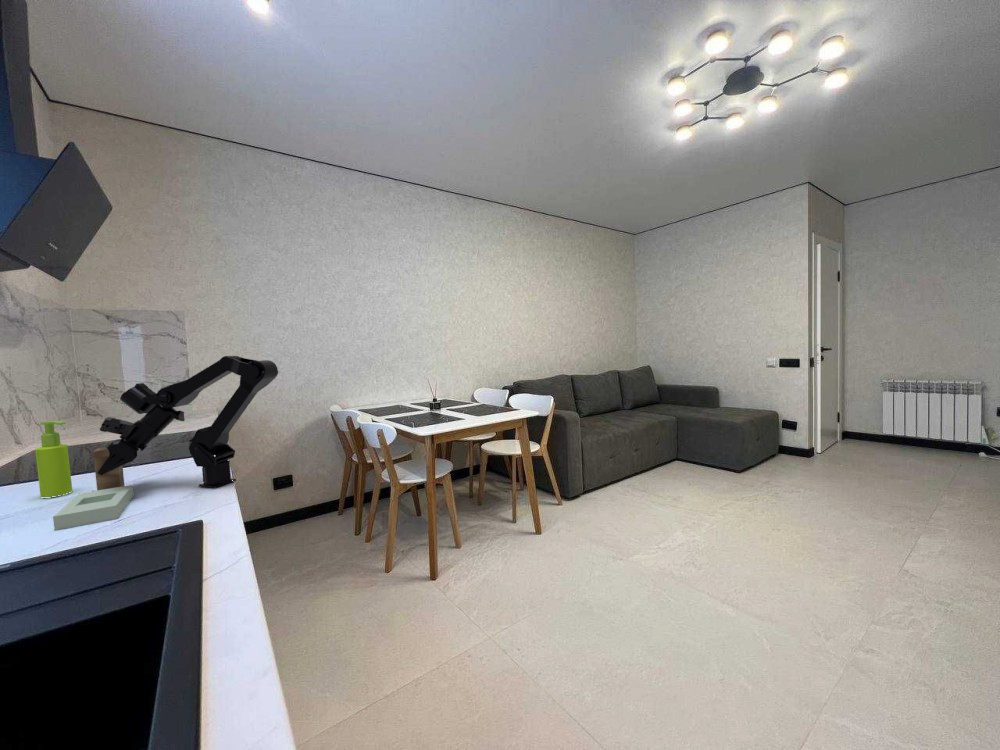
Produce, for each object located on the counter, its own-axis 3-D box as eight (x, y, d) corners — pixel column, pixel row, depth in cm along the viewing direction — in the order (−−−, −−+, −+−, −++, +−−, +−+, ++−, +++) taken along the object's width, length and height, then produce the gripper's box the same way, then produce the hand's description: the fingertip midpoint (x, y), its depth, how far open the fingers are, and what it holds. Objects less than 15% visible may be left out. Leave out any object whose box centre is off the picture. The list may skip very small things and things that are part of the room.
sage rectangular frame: (80, 505, 104) (79, 493, 103) (133, 496, 109) (132, 484, 109) (54, 530, 88) (53, 516, 88) (117, 518, 94) (116, 505, 94)
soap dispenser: (59, 498, 110) (51, 422, 108) (34, 499, 110) (25, 423, 108) (82, 490, 115) (74, 418, 114) (58, 491, 116) (50, 419, 114)
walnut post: (125, 491, 114) (120, 445, 113) (121, 495, 110) (116, 448, 109) (102, 494, 111) (97, 448, 110) (98, 499, 108) (93, 451, 107)
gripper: (130, 402, 119) (80, 447, 114) (114, 409, 103) (56, 461, 98) (167, 426, 124) (122, 470, 119) (158, 436, 108) (105, 487, 103)
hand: (102, 471), depth 109 cm, fingers open, 5 cm apart
